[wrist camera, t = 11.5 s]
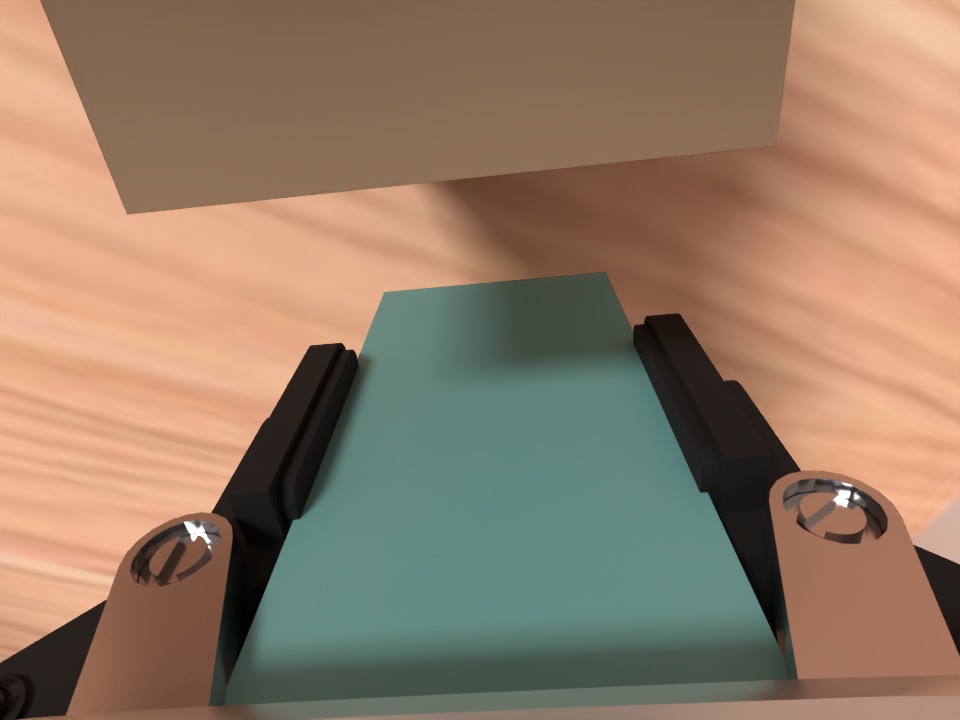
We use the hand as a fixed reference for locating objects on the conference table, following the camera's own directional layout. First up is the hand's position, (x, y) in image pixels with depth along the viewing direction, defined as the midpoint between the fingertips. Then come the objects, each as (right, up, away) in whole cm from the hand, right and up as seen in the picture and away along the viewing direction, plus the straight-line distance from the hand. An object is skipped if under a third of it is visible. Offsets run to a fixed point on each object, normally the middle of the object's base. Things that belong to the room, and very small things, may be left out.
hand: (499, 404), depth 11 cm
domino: (-1, +8, +2) cm, 8 cm away
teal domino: (0, +2, +3) cm, 3 cm away
